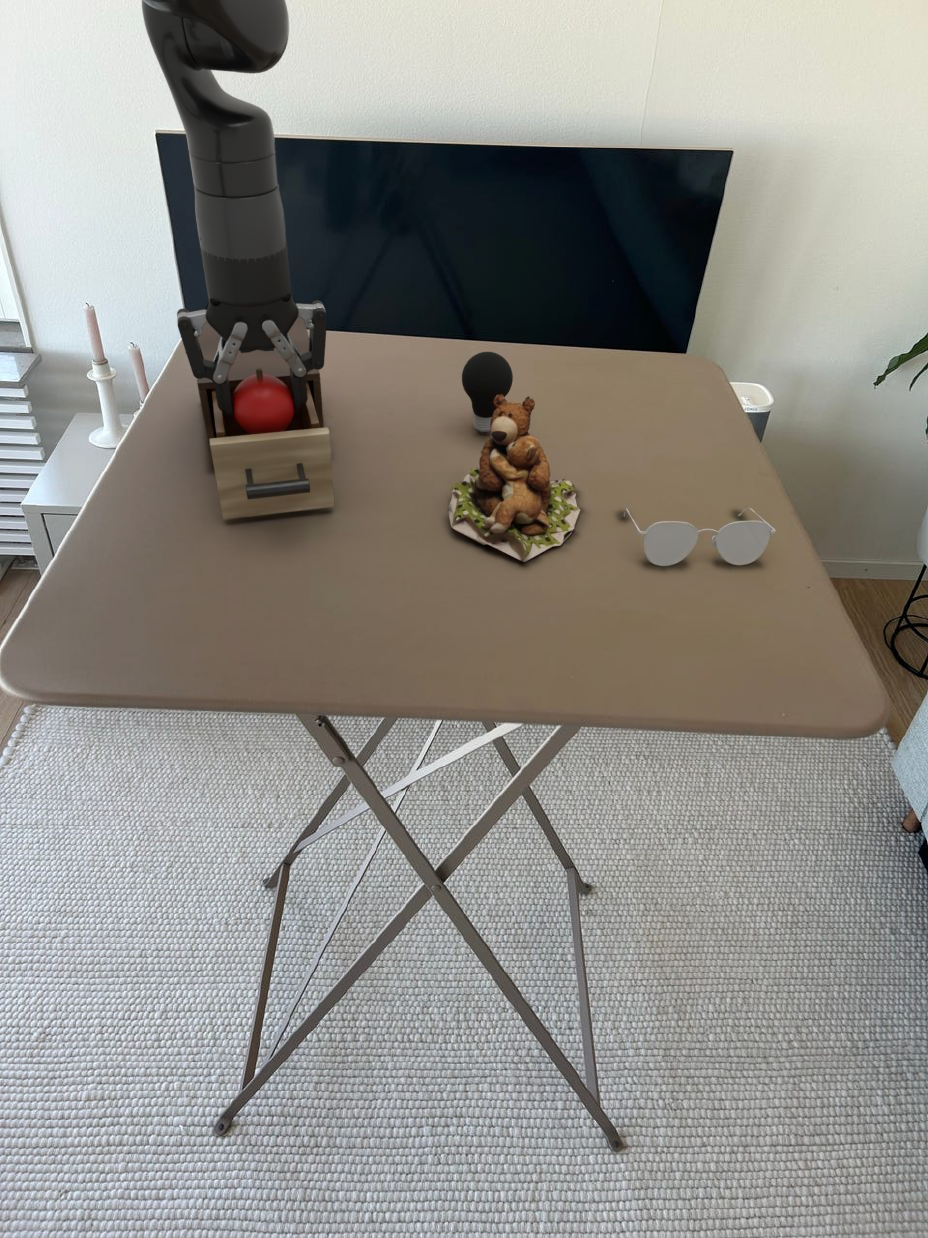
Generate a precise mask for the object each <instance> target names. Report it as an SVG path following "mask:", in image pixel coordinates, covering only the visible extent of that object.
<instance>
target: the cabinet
mask: <svg viewBox="0 0 928 1238" xmlns="http://www.w3.org/2000/svg"><path fill="white" fill-rule="evenodd" d="M288 335H289V336H290V338H291V340H292V342H293V344H294V345H295V347H296V348H297V350H298V351H299V353H300V354H301V355H302V354H304V353H306V352H309V333H308V328H306V326H305V324H304V321H303V319H302V318H301V317H298V318H297V319H296V321H295V323H294V324H293V326H292V327H291V329H290V330H289V332H288ZM197 338H198V341H199V344H200V347H201V351H202V354H203V357H204V359H205V360H209V361H213V360H214V358H215V355H216V353H217V350H218V345H219V341H220V339H221V336H220V335H219V334H218V333H217V332H216V331H215V330H214V329H213V328H212V327H211V326H210V325H209V323H206V324H205V325H204V326H203V333H202V335H201V336H199V337H197ZM257 368H261V369H262V373H263V374H267V375H271V376H274V377H276V378H278V379H279V380H281V381H282V382H283V383H286V382H291V379H290V366H289V365H288V363H287V362H286V361H285V360H284V359H283V357H282V356H281V354H280V353H279V351H278V350H277V349H276V348H274V351H262V350H255V351H252V352H248V353H241V351H238V353H237V356H236V359H235V361H234V363H233V365H232V366H231V368H230V370H229V373H228V380H229V387H237V386H238V385H239V384H240V383H241V382H242V381H243V380H244V379H246V378H248V377H250V376H252V375H256V369H257ZM306 381H308V385H309V388H310V392H311V396H312V399H313V403H314V407H315V410H316V414H317V417H318V421H319V428H325V424H324V412H323V410H324V409H323V398H322V385H321V384H322V383H321V373H320V370H316V369H313V370H311V371H309V372H308V373H307V374H306ZM196 384H197V391H198V395H199V396H198V397H199V401H200V407H201V413H202V418H203V425H204V430H205V435H206V440H207V447H208V452H209V456H210V464H211V469H212V471H215V470H214V465H213V459H212V453H211V448H210V440H209V439H211V438H217V434H216V425H215V416H214V407H213V398H212V390H211V389H215V386H214V383H213V381H212V380H210V379H208V378H202V379H197V378H196Z"/></svg>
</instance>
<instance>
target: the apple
mask: <svg viewBox="0 0 928 1238" xmlns="http://www.w3.org/2000/svg"><path fill="white" fill-rule="evenodd" d="M232 408H233V414H234V417H235V419H236V421H237V423H238V424H239V425H240V426H241V427H242V428H243V429H244V430H245V431H247V432H248V433H250V434H252V435H253V434H263V433H273V432H283V431H284V430H285V429H286V428H287V427H288V426H289V424H290V423H291V421H292V418H293V415H294V410H295V408H294V400H293V396H292V394H291V392H290V390H289V388H288V387H287V386H286V385H285V384H284V383H283V382H282V381H281V380H279V379H278V378H276V377H274V376H271V375H267V374H263V373H262V369H261V368H257V369H256V375H252V376H250V377H248V378H246V379H244V380H243V381H242V382H241V383H240V384H239V385H238V386H237V388H236V389H235V391H234V394H233V397H232Z"/></svg>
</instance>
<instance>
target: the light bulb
mask: <svg viewBox="0 0 928 1238" xmlns="http://www.w3.org/2000/svg"><path fill="white" fill-rule="evenodd" d="M513 381H514V376H513V370H512V367H511V365H510V363H509V362H508V360H507V359H505V357H503V356H502V355H501V354H499V353H496V352H493V351H481V352H479V353H476V354H474V355H473V356H472V357H470V358H469V359H468V360H467V361H466V363H465V364H464V366H463V369H462V374H461V384H462V388H463V391H464V392H465V393H466V395H467V396H468V398H469V400H470V403H471V409H472V411H473V414H474V417H473V426H474V429H475V430H477V431H479V432H480V433H482V434H486V433H488V432H490V430H491V429H490V421H491V418H492V416H493V413H494V411H495V410H496V407H495V405H494V399H495V397H496V396H497V395H499V394H502V395H503V396H504V398H506V396H507V395H509V393H510V391H511V388H512V385H513Z"/></svg>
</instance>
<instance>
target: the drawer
mask: <svg viewBox="0 0 928 1238" xmlns="http://www.w3.org/2000/svg"><path fill="white" fill-rule="evenodd" d="M284 384H285V385H286V386H287V387H288V388H289V390H290V392H291V394H292V389H291V382H286V383H284ZM306 385H307V397H308V400H307V402H306V404H301V405H302V410H294V415H293V418H292V421H291V423H290V424H289V426H288V427H287V428H286V429H285V430H284V431H283V432H273V433H263V434H253V435H252V434H250V433H248V432H247V431H245V430H244V429H243V428H242V427H241V426H240V425H239V424H238V423H237V421H236V419H235V417H234V415H233V416H227V415H226V411H220V409H219V408H218V404H217V398H216V392H215V389H211V390H212V398H213V407H214V416H215V425H216V434H217V438H211V439H209V440H210V448H211V453H212V459H213V465H214V470H213V471H214V476H215V481H216V487H217V493H218V498H219V499H218V500H219V504H220V510H221V515H222V519H223V520H231V519H238V518H247V517H256V516H264V515H265V516H266V515H274V514H281V513H290V512H291V513H292V512H299V511H309V510H316V509H325V508H334V507H335V491H334V478H333V477H334V475H333V463H332V462H333V461H332V449H331V434H330V430H329V427H328V426H326V427H325V426H324V428H319V421H318V417H317V414H316V410H315V407H314V403H313V399H312V396H311V392H310V388H309V385H308V381H306ZM236 388H237V387H230V394H231V401H232V397H233V394H234V391H235V389H236Z"/></svg>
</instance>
